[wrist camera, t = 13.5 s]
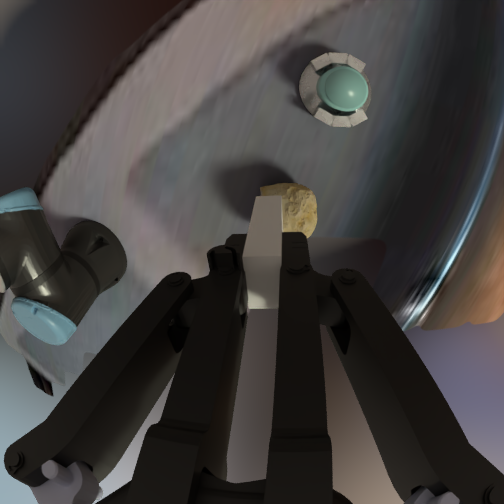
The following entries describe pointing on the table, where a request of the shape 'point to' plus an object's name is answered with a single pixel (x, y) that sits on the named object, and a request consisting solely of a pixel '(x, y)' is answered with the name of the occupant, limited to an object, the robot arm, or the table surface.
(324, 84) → the teal rounded cylinder
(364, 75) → the grey ring-shaped piece
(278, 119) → the table surface
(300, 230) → the coral
